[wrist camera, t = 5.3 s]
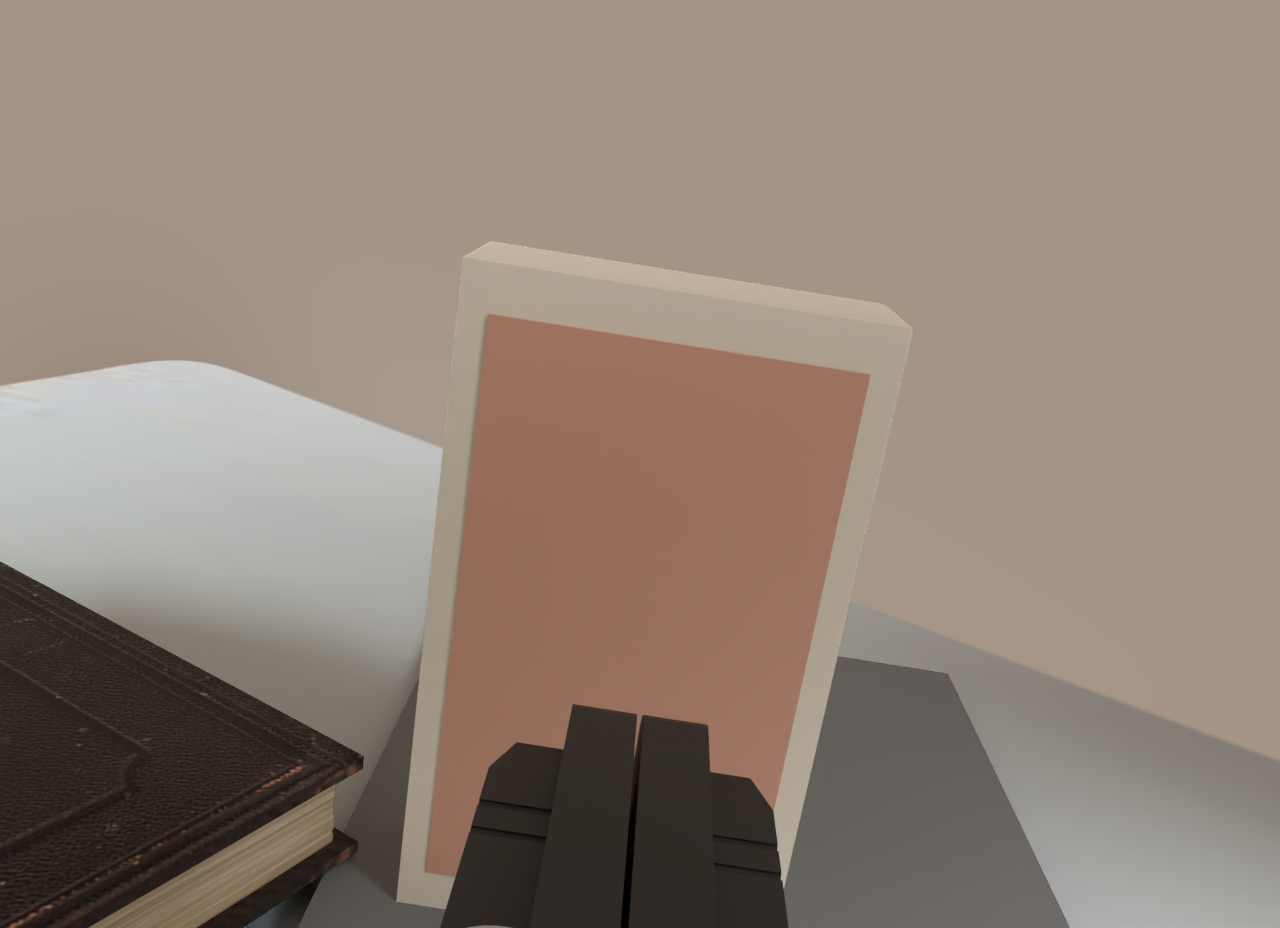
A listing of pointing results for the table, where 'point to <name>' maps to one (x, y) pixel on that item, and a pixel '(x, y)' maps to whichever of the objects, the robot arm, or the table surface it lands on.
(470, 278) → the cream box
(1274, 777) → the table surface
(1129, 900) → the table surface
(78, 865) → the hardcover book
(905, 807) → the charcoal mat
